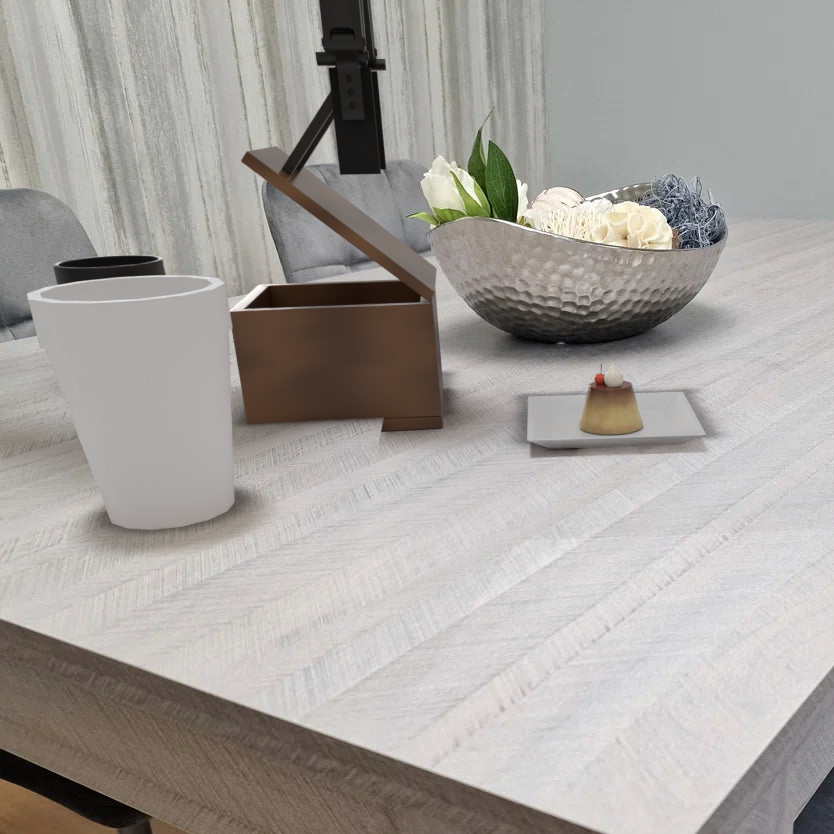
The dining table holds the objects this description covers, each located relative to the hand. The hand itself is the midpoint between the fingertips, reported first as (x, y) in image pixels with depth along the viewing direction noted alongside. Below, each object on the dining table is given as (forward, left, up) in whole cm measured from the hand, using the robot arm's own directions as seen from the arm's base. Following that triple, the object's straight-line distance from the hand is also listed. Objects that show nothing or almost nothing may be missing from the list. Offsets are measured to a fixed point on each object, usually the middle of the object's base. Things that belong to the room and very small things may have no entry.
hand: (364, 171), depth 74 cm
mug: (-26, +23, -17) cm, 39 cm away
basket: (-3, 0, -17) cm, 17 cm away
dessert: (+16, -9, -17) cm, 26 cm away
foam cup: (-11, -24, -17) cm, 32 cm away
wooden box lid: (-2, 0, -4) cm, 4 cm away
